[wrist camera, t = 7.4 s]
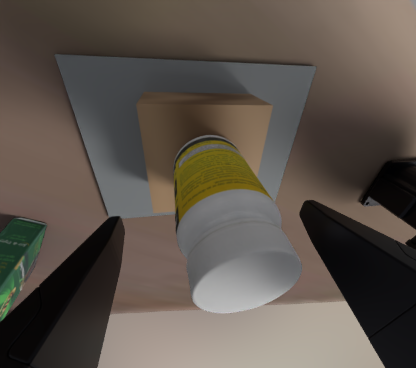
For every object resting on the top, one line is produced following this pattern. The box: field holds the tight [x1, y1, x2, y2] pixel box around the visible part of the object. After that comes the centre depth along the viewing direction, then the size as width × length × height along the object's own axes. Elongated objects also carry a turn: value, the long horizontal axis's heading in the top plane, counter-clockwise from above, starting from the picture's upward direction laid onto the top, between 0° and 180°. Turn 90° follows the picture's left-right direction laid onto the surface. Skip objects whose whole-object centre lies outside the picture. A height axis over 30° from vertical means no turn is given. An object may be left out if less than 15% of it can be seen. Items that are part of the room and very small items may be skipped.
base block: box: [136, 92, 273, 213], centre depth 15 cm, size 8×8×4 cm
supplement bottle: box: [173, 135, 302, 313], centre depth 10 cm, size 5×5×8 cm
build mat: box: [54, 54, 317, 219], centre depth 17 cm, size 18×14×1 cm
